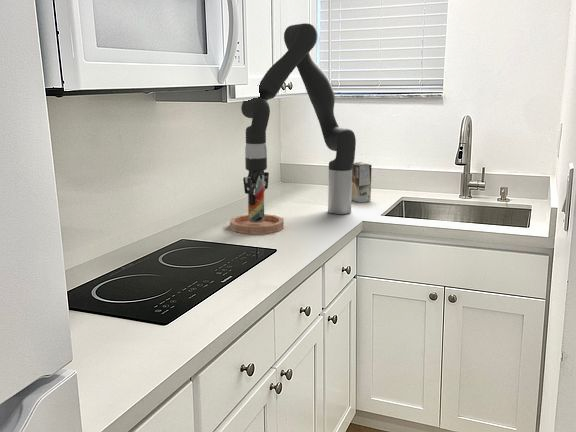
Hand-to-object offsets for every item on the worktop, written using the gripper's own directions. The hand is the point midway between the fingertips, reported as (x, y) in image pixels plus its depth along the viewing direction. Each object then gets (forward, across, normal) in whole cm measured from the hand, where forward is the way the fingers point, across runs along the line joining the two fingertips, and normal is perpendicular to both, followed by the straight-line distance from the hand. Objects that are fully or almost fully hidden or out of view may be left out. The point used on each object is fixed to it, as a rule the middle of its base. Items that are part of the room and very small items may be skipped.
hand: (256, 203), depth 204 cm
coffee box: (+9, -61, +16) cm, 64 cm away
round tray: (+9, 0, 0) cm, 9 cm away
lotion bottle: (+7, 0, 0) cm, 7 cm away
